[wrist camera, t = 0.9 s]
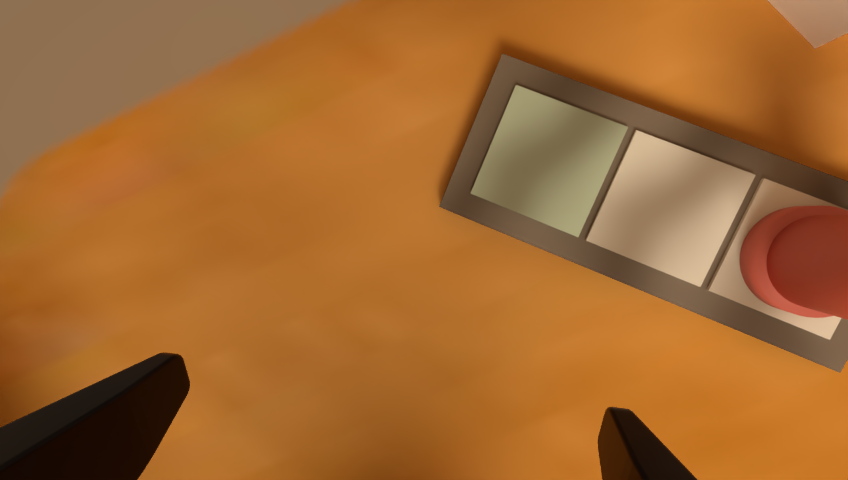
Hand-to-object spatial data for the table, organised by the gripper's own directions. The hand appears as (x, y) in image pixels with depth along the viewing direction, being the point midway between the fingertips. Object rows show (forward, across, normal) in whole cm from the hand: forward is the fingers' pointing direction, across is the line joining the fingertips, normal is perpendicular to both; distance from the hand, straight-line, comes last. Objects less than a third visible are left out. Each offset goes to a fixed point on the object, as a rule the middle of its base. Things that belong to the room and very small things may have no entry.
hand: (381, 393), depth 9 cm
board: (+15, -10, +1) cm, 18 cm away
